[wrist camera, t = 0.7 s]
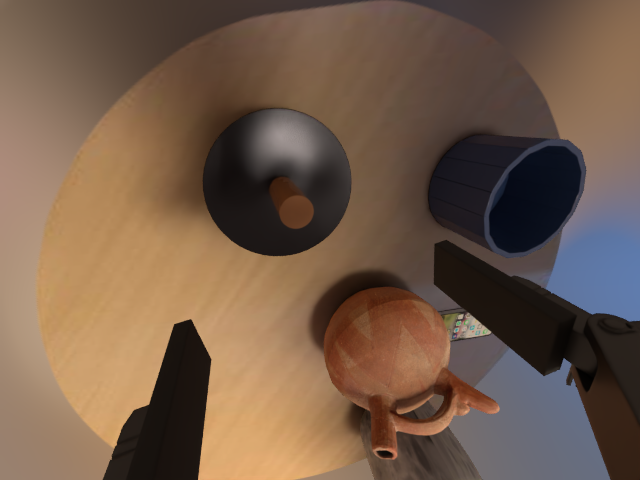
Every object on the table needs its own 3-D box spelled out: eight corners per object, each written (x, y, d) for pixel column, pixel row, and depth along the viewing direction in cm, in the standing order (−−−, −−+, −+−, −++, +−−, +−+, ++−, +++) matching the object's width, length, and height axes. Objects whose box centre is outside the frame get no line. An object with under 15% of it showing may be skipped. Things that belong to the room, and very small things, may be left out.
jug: (414, 256, 44) (530, 346, 27) (413, 338, 52) (502, 449, 34) (304, 286, 41) (355, 412, 23) (321, 369, 49) (368, 510, 31)
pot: (421, 157, 38) (481, 169, 28) (509, 119, 39) (593, 119, 30) (434, 242, 44) (486, 275, 35) (509, 208, 46) (578, 230, 36)
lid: (171, 143, 25) (141, 154, 17) (323, 84, 27) (359, 69, 19) (246, 272, 33) (248, 322, 25) (362, 220, 34) (400, 251, 26)
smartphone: (436, 314, 50) (502, 305, 54) (432, 311, 51) (498, 302, 55) (428, 345, 53) (491, 335, 57) (425, 341, 54) (487, 331, 58)
